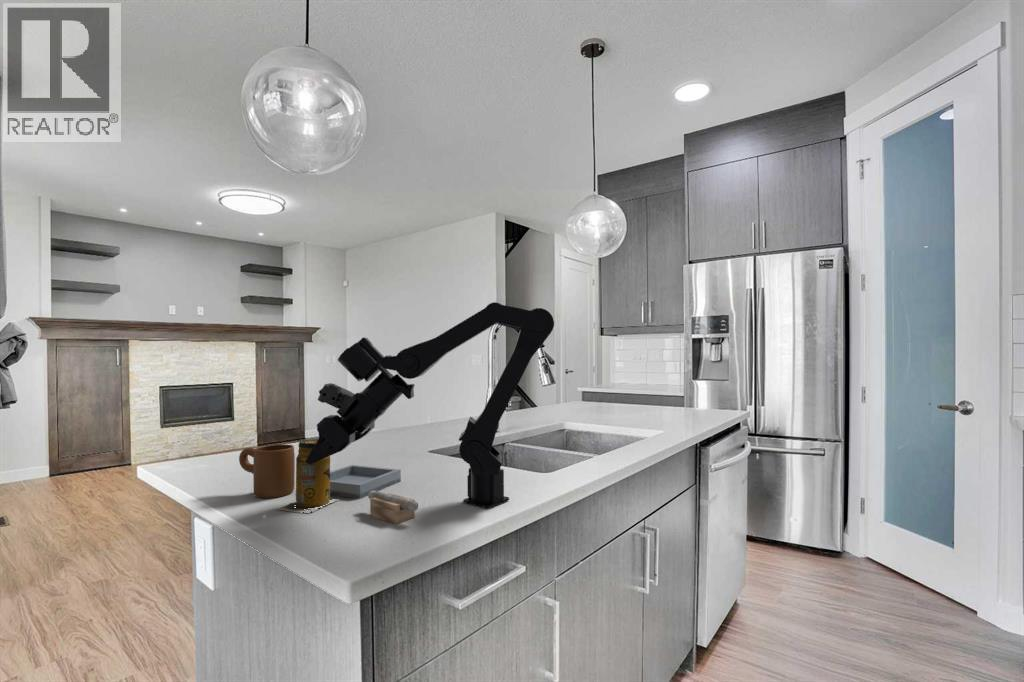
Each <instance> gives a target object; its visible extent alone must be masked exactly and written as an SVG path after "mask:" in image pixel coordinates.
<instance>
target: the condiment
mask: <svg viewBox="0 0 1024 682" xmlns="http://www.w3.org/2000/svg"><path fill="white" fill-rule="evenodd" d="M318 439H319V438H311V439H306V440H301V441H299V442H298V451H297V452H298V454H297V456H296V460H295V461H296V462H295V465H296V466H295V501H294V502H290V503H289V504H286V505H282V506H280V507H278V508H276V509H277V510H280V511H284V512H285V511H287V512H293V513H295V512H296V513H302V514H311V513H310V512H311V511H312V513H313V512H317V511H318V510H319V509H313V510H311V509H309V510H308V508H315V507H320V506H323V505H326V504H328V503H329V502H330V500H329V499H332V500H337V502H339V501H340V499H339V498H331V495H330V471H331V456H328V457H326V458H324V459H322V460H319V461H317V462H315V463H313V464H310V465H309V464H308V463H307V462H306V459H307V457H308V455H309V454H310V452H311V451H312V449H313V447H314V446H315V444H316V442H317V441H318ZM332 500H331V501H332ZM338 500H339V501H338ZM294 505H296V506H294ZM294 507H296V508H294ZM322 508H324V507H321V508H320V509H322ZM304 509H307V510H308V511H307V510H304ZM309 511H310V512H309ZM303 512H304V513H303Z"/></svg>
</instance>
